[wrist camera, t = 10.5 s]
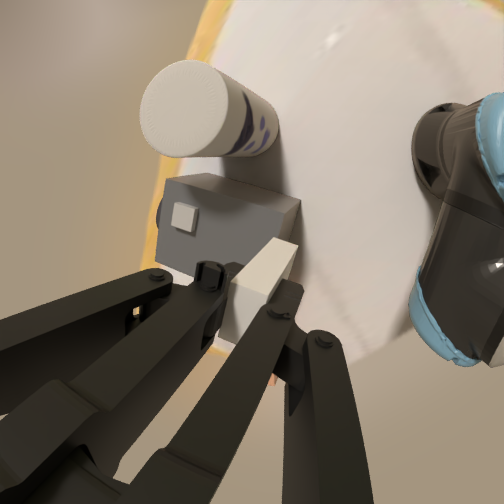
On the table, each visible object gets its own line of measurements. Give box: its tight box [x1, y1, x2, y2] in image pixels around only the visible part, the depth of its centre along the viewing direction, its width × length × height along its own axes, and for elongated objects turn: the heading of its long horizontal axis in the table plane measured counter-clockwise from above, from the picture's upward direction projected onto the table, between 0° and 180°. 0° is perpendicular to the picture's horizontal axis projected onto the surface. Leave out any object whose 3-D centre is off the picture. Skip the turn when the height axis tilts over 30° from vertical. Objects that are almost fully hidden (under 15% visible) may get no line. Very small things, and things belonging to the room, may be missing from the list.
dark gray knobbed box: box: [155, 173, 301, 277], centre depth 42 cm, size 18×12×13 cm, turn 77°
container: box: [140, 60, 279, 158], centre depth 34 cm, size 10×10×20 cm
